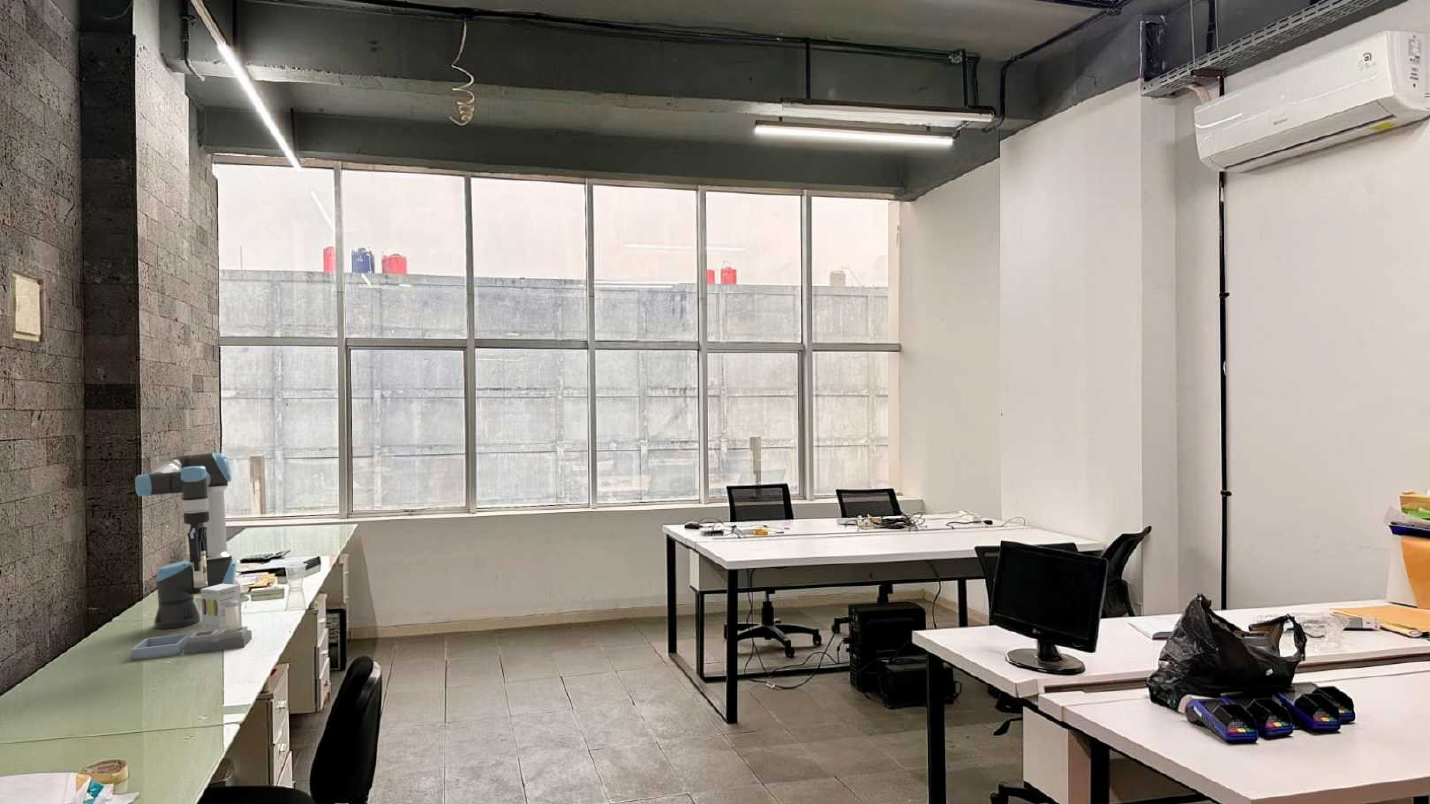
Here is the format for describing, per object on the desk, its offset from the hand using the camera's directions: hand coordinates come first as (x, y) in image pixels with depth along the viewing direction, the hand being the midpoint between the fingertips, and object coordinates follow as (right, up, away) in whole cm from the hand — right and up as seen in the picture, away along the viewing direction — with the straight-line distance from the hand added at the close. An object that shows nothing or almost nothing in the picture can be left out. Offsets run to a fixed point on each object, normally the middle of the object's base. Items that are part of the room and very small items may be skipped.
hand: (200, 578), depth 300 cm
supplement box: (-4, -24, +21) cm, 32 cm away
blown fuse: (0, -3, 0) cm, 3 cm away
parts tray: (-12, -25, -1) cm, 28 cm away
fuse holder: (+6, -24, +2) cm, 24 cm away
